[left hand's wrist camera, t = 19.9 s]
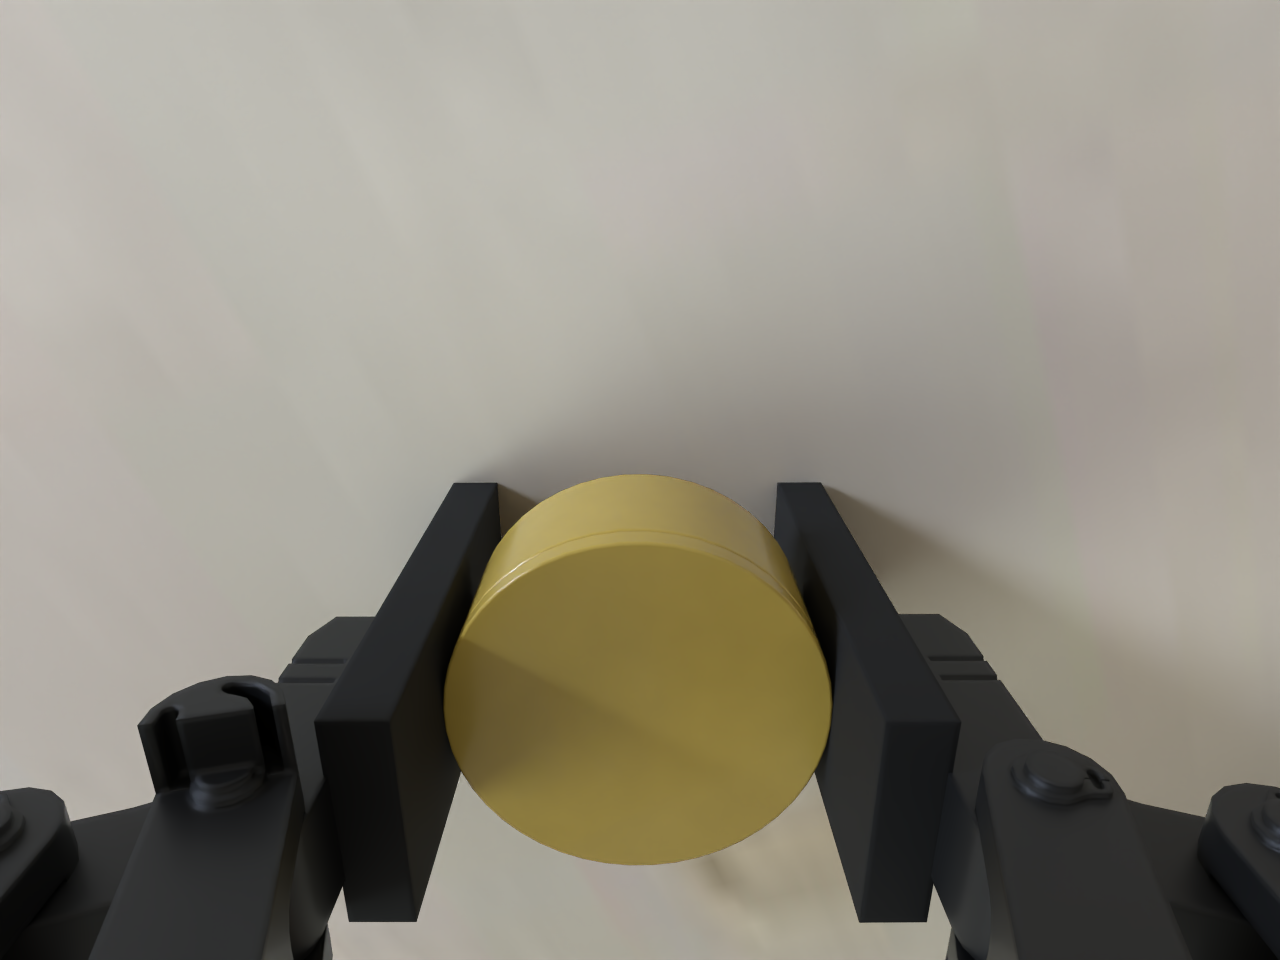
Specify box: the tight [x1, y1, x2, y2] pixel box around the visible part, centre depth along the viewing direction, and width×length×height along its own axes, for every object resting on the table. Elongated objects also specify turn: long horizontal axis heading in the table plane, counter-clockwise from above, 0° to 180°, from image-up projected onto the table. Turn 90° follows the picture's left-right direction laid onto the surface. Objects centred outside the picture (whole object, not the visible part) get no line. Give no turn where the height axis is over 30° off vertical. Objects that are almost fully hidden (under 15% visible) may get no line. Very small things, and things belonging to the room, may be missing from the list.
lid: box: [443, 474, 833, 865], centre depth 11 cm, size 5×5×2 cm
